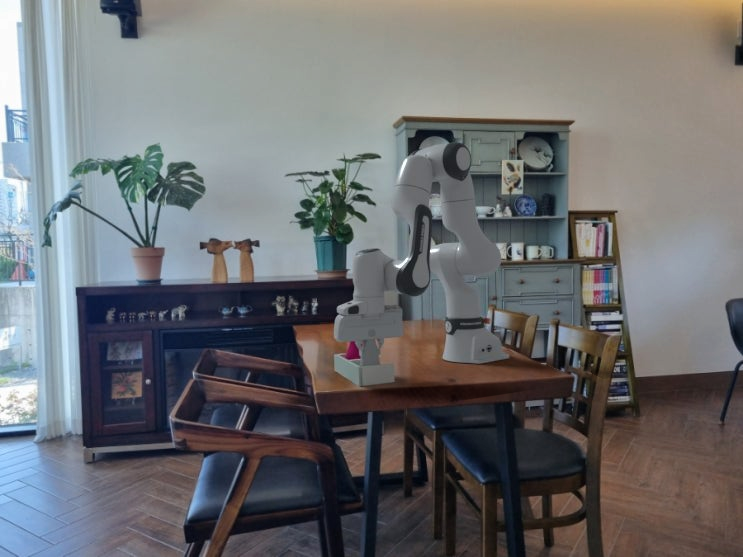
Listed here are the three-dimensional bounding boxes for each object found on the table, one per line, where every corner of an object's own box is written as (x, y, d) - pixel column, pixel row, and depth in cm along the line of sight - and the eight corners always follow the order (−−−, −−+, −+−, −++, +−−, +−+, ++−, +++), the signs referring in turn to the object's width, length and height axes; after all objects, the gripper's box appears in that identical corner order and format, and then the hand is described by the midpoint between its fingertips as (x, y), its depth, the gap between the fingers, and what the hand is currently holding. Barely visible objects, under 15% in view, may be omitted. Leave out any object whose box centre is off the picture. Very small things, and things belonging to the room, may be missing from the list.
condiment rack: (366, 367, 157) (365, 351, 157) (394, 382, 138) (394, 364, 138) (334, 370, 153) (334, 354, 153) (359, 386, 134) (358, 368, 134)
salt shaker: (381, 371, 144) (380, 326, 143) (380, 375, 138) (378, 329, 137) (361, 371, 144) (360, 326, 144) (359, 375, 138) (357, 329, 138)
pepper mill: (341, 373, 149) (339, 307, 148) (353, 368, 155) (351, 304, 154) (362, 376, 146) (360, 307, 145) (373, 371, 152) (372, 305, 151)
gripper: (397, 303, 147) (398, 350, 148) (331, 307, 139) (332, 356, 140) (407, 305, 141) (407, 353, 142) (338, 309, 133) (339, 360, 134)
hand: (369, 355), depth 141 cm, fingers closed on salt shaker, 3 cm apart
